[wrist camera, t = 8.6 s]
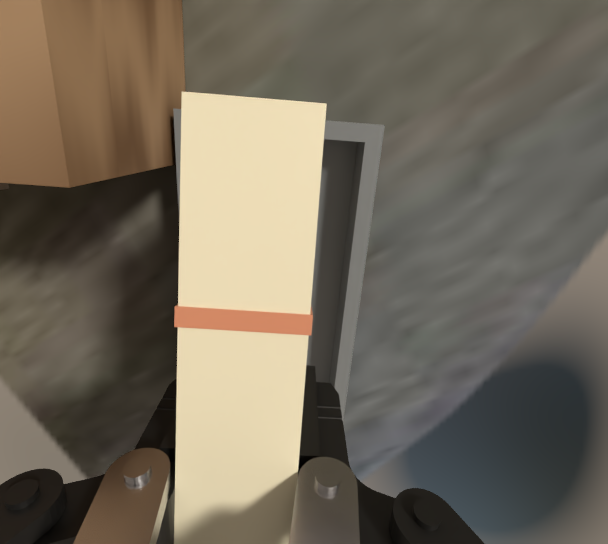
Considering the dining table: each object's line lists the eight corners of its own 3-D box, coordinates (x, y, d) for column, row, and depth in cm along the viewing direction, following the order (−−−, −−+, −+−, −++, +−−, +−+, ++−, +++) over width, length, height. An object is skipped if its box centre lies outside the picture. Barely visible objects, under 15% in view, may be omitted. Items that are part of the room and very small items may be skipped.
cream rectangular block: (236, 150, 12) (178, 90, 6) (312, 157, 12) (329, 103, 6) (223, 470, 14) (169, 661, 8) (289, 474, 14) (285, 665, 8)
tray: (192, 112, 17) (173, 108, 14) (372, 126, 17) (384, 125, 14) (202, 398, 22) (189, 432, 20) (336, 406, 23) (340, 440, 20)
